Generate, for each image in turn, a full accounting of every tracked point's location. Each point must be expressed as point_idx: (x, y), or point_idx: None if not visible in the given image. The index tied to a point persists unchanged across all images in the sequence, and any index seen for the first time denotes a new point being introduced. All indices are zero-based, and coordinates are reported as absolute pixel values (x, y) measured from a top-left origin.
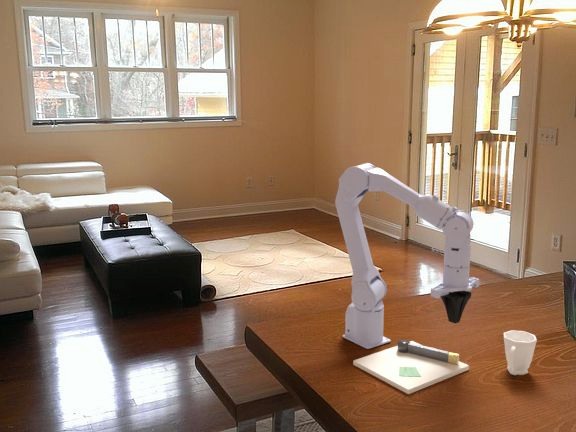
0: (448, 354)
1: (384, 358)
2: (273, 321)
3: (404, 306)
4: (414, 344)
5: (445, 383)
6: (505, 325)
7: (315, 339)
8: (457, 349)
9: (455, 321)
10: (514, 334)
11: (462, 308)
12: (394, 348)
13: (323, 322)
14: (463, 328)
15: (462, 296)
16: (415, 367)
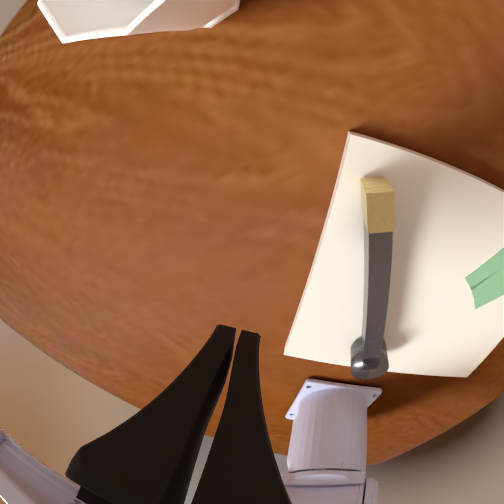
0: (392, 230)
1: (437, 351)
2: None
3: (129, 389)
4: (371, 347)
5: (493, 162)
6: (11, 218)
7: (379, 433)
8: (208, 241)
9: (258, 344)
10: (77, 24)
11: (187, 399)
12: None
13: None
14: (89, 284)
15: (166, 500)
16: (467, 278)
